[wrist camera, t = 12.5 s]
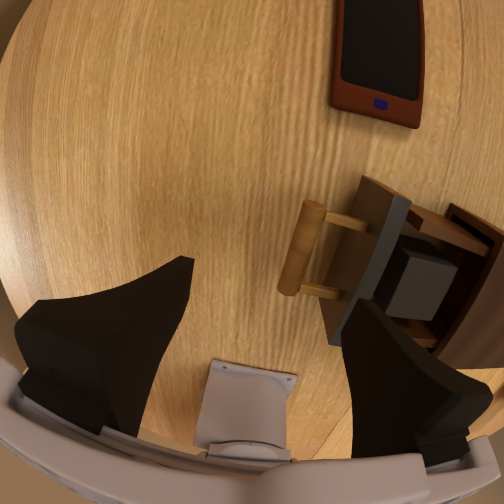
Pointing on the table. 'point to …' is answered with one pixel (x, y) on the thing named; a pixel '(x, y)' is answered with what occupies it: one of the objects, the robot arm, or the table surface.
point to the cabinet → (478, 307)
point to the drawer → (381, 258)
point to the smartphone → (380, 60)
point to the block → (414, 280)
